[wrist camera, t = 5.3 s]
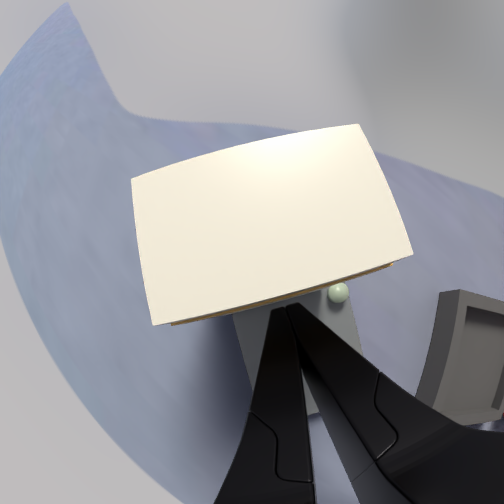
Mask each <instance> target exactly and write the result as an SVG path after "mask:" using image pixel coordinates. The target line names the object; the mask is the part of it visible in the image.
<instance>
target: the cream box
mask: <svg viewBox="0 0 504 504" xmlns="http://www.w3.org/2000/svg"><path fill="white" fill-rule="evenodd" d="M131 183H132V195H133V206H134V216H135V225H136V233H137V241H138V248H139V255H140V261H141V267H142V273H143V279H144V285H145V290H146V295H147V300H148V305H149V310H150V314H151V319H152V323H153V326H155V325H163V324H170V323H171V326H173V325H179V324H185V323H190V322H195V321H199V320H204V319H208V318H212V317H217V316H223V315H228V314H232V313H236V312H240V311H244V310H248V309H252V308H256V307H260V306H264V305H268V304H271V303H275V302H279V301H282V300H286V299H290V298H293V297H297V296H300V295H304V294H307V293H311V292H314V291H318V290H321V289H324V288H327V287H330V286H333V285H335V284H338V283H342V282H345V281H348V280H351V279H354V278H358V277H361V276H364V275H367V274H370V273H373V272H376V271H378V270H381V269H384V268H386V267H389V266H392V265H393V264H392V263H393V262H396V261H398V260H401V259H403V258H405V257H408V256H410V255H413V251H412V248H411V245H410V242H409V239H408V236H407V233H406V230H405V227H404V224H403V221H402V219H401V216H400V213H399V211H398V208H397V205H396V203H395V200H394V198H393V195H392V193H391V191H390V188H389V186H388V184H387V181H386V179H385V177H384V174H383V172H382V170H381V168H380V166H379V163H378V161H377V159H376V157H375V155H374V153H373V151H372V149H371V147H370V145H369V143H368V141H367V139H366V137H365V135H364V133H363V131H362V130H361V128H360V126H359V124H353V125H345V126H338V127H330V128H324V129H318V130H311V131H305V132H299V133H294V134H289V135H284V136H279V137H274V138H269V139H264V140H260V141H255V142H251V143H247V144H243V145H239V146H235V147H231V148H227V149H223V150H219V151H216V152H212V153H208V154H205V155H201V156H198V157H195V158H191V159H188V160H185V161H181V162H178V163H175V164H172V165H169V166H166V167H163V168H160V169H157V170H154V171H151V172H148V173H146V174H143V175H140V176H137V177H135V178H132V179H131Z"/></svg>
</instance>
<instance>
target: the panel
mask: <svg viewBox="0 0 504 504" xmlns="http://www.w3.org/2000/svg"><path fill="white" fill-rule="evenodd" d="M348 295H349V290H348V287H347V286H346V285H345V282H342V283H338V284H335V285H333V286H330V287H327V288H324V289H321V290H318V291H314V292H311V293H307V294H304V295H300V296H297V297H293V298H290V299H286V300H282V301H279V302H275V303H271V304H268V305H264V306H260V307H256V308H252V309H248V310H244V311H240V312H236V313H232V318H233V321H234V325H235V329H236V333H237V337H238V341H239V344H240V348H241V352H242V355H243V359H244V363H245V366H246V370H247V374H248V377H249V381H250V384H251V388H252V391H253V389H254V384H255V380H256V376H257V371H258V367H259V362H260V357H261V353H262V348H263V343H264V339H265V334H266V329H267V324H268V320H269V315H270V311H271V309H273V308H277V307H281V306H284V307H285V306H286V305H288V304H292V303H295V302H299V303H301V304H302V305H303V306H304V307H305V308H306V309H308V310H309V311H310V312H311V313H312V314H314V315H315V316H316V317H317V318H318V319H319V320H321V321H322V322H323V323H324V324H325V325H326V326H328V327H329V328H330V329H331V330H332V331H334V332H335V333H336V334H337V335H338V336H339V337H341V338H342V339H343V340H344V341H345V342H347V343H348V344H349V345H350V346H351V347H353V348H354V349H355V350H356V351H357V352H358V353H360V354H361V355H362V356H363V353H362V349H361V344H360V340H359V335H358V331H357V327H356V323H355V319H354V315H353V311H352V307H351V303H350V300H349V296H348ZM301 371H302V370H301ZM302 377H303V384H304V392H305V399H306V407H307V415H311V414H314V413H318V412H319V410H318V408H317V405H316V403H315V401H314V399H313V396H312V394H311V392H310V390H309V387H308V385H307V383H306V381H305V378H304V376H303V373H302Z"/></svg>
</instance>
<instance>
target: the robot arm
mask: <svg viewBox="0 0 504 504" xmlns="http://www.w3.org/2000/svg"><path fill="white" fill-rule="evenodd" d="M301 370H302V371H301ZM302 373H303V376H304V378H305V381H306V383H307V385H308V387H309V390H310V392H311V394H312V396H313V399H314V401H315V403H316V405H317V408H318V410H319V412H320V415H321V417H322V419H323V421H324V424H325V426H326V428H327V430H328V433H329V435H330V437H331V439H332V442H333V444H334V446H335V448H336V451H337V453H338V455H339V457H340V460H341V462H342V464H343V466H344V469H345V471H346V473H347V475H348V478H349V480H350V482H352V483H351V484H352V487H353V489H354V491H355V493H356V496H357V498H358V500H359V502H360V504H504V432H495V431H486V430H478V429H473V428H469V427H466V426H463V425H461V424H459V423H457V422H455V421H453V420H451V419H450V418H448V417H446V416H445V415H443V414H441V413H440V412H438V411H436V410H435V409H433V408H431V407H430V406H428V405H426V404H425V403H423V402H422V401H420V400H418V399H417V398H415V397H414V396H412V395H411V394H409V393H408V392H406V391H405V390H404V389H402V388H401V387H400V386H398V385H397V384H396V383H395V382H393V381H392V380H391V379H390V378H388V377H387V376H386V375H385V374H384V373H382V372H379V369H377V368H376V367H375V366H374V365H373V364H372V363H370V362H369V361H368V360H367V359H366V358H364V357H363V356H362V355H361V354H360V353H358V352H357V351H356V350H355V349H354V348H353V347H351V346H350V345H349V344H348V343H347V342H345V341H344V340H343V339H342V338H341V337H339V336H338V335H337V334H336V333H335V332H334V331H332V330H331V329H330V328H329V327H328V326H326V325H325V324H324V323H323V322H322V321H321V320H319V319H318V318H317V317H316V316H315V315H314V314H312V313H311V312H310V311H309V310H308V309H306V308H305V307H304V306H303V305H302V304H301V303H299V302H295V303H292V304H288V305H286V306H285V307H284V306H281V307H277V308H273V309H271V311H270V315H269V320H268V324H267V329H266V334H265V339H264V343H263V348H262V353H261V357H260V362H259V367H258V371H257V376H256V380H255V384H254V389H253V393H252V398H251V402H250V406H249V411H250V412H248V414H247V418H246V422H245V426H244V430H243V433H242V437H241V440H240V443H239V446H238V449H237V451H236V454H235V457H234V459H233V462H232V464H231V466H230V469H229V471H228V473H227V476H226V478H225V480H224V482H223V485H222V487H221V489H220V491H219V493H218V496H217V498H216V500H215V502H214V504H317V497H316V486H315V476H314V466H313V457H312V448H311V439H310V431H309V423H308V415H307V407H306V399H305V392H304V384H303V377H302Z"/></svg>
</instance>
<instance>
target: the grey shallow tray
mask: <svg viewBox="0 0 504 504" xmlns="http://www.w3.org/2000/svg"><path fill="white" fill-rule="evenodd" d="M415 398H417V399H418V400H420V401H422V402H423V403H425V404H426V405H428V406H430V407H431V408H433V409H435V410H436V411H438V412H440V413H441V414H443V415H445V416H446V417H448V418H450V419H451V420H453V421H455V422H457V423H459V424H461V425H463V426H464V425H472V424H478V423H485V422H490V421H495V420H500V419H501V417H502V414H503V412H504V302H503V301H500V300H496V299H493V298H489V297H486V296H482V295H479V294H475V293H472V292H468V291H465V290H461V289H459V290H452V291H446V292H440V295H439V302H438V308H437V314H436V319H435V325H434V330H433V334H432V339H431V343H430V348H429V352H428V356H427V360H426V363H425V367H424V371H423V374H422V377H421V381H420V384H419V387H418V390H417V393H416V396H415Z"/></svg>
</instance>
